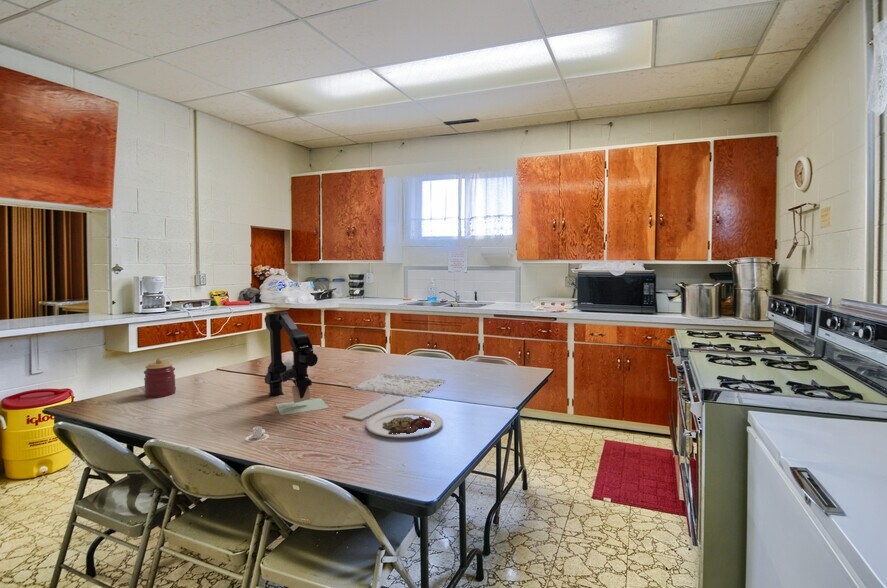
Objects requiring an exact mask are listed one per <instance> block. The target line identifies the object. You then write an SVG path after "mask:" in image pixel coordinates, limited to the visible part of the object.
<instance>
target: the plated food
mask: <svg viewBox="0 0 887 588" xmlns="http://www.w3.org/2000/svg"><path fill="white" fill-rule="evenodd" d="M405 415H413V416H419V418H416V419H412V418H411V417H408V416H407V417H404V416H405ZM420 416H422V417H420ZM424 417H426V418H429V419H431V420H432V421H434V423H435V425H434V427H433V428H432V429H431V430H429V431H427V432H424V433H420V434H416V435H407V436H403V435H402V436H400V433H406V434H410V433H414V432H416V431H417V430H418V429H422V428H423V429H424V428H429V427H431V423H432V421H431V420H427V419H425V418H424ZM443 424H444V420H443V419H442V417H441V416H440V415H438V414H436V413H434V412H431V411H428V410H427V411H426V410H422V409H410V408H409V409H408V408H407V409H404V408H403V409H394V410H387V411H384V412H383V411H382V412H379V413H377V414H375V415H373V416H371V417H369V418H367V419H366V422H365V428H366V429H367V430H368V431H369V432H370V433H372V434H374V435H378V436H381V437H387V438H396V439H397V438H402V439H403V438H405V439H406V438H414V437H415V438H416V437H420V436H421V437H422V436H425V435H429V434H431V433H434V432H436V431H438V430H439V429H440V428H442V427H443ZM410 427H411V428H410ZM392 433H393V434H392ZM396 433H397V434H399V435H397V434H396Z"/></svg>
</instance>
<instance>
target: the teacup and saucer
mask: <svg viewBox="0 0 887 588" xmlns="http://www.w3.org/2000/svg"><path fill="white" fill-rule="evenodd" d="M262 436H264V438H263V439H261V438H262ZM251 437H253V438H254V439H255V440H250V438H251ZM269 437H270V435H269V434H268V433H266V430H265V429H263V427H262V426H255V427H253V428H252V434H250V435H248V436H246V438H244V439H245V441H246V442H250V443H258V442H262V441H266V440H267V439H269ZM257 439H258V440H257Z"/></svg>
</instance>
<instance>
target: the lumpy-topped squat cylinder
mask: <svg viewBox="0 0 887 588" xmlns="http://www.w3.org/2000/svg"><path fill="white" fill-rule="evenodd" d="M283 364H284V365H286V370H289V369H291V368H292V365H293V364H294V363H293V360H292V359H289V358H288V359H287V360H286V361H284V362H283ZM293 379H294V377H293Z"/></svg>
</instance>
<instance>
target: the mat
mask: <svg viewBox="0 0 887 588" xmlns="http://www.w3.org/2000/svg"><path fill="white" fill-rule="evenodd" d="M275 406H276V409H277V410H278V412H279V415H280V416H286V415H292V414H299V413H304V412H306V413H307V412H313V411H319V410H329V406H328V405H327V403H325V401H324V400H323V398H321V397H319V398H312V399H311V398H310V399H309V400H305V401H301V402H296V403H294V402H293V401H290V402H288V401H287V402H283V403H277V404H276V403H275Z"/></svg>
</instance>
